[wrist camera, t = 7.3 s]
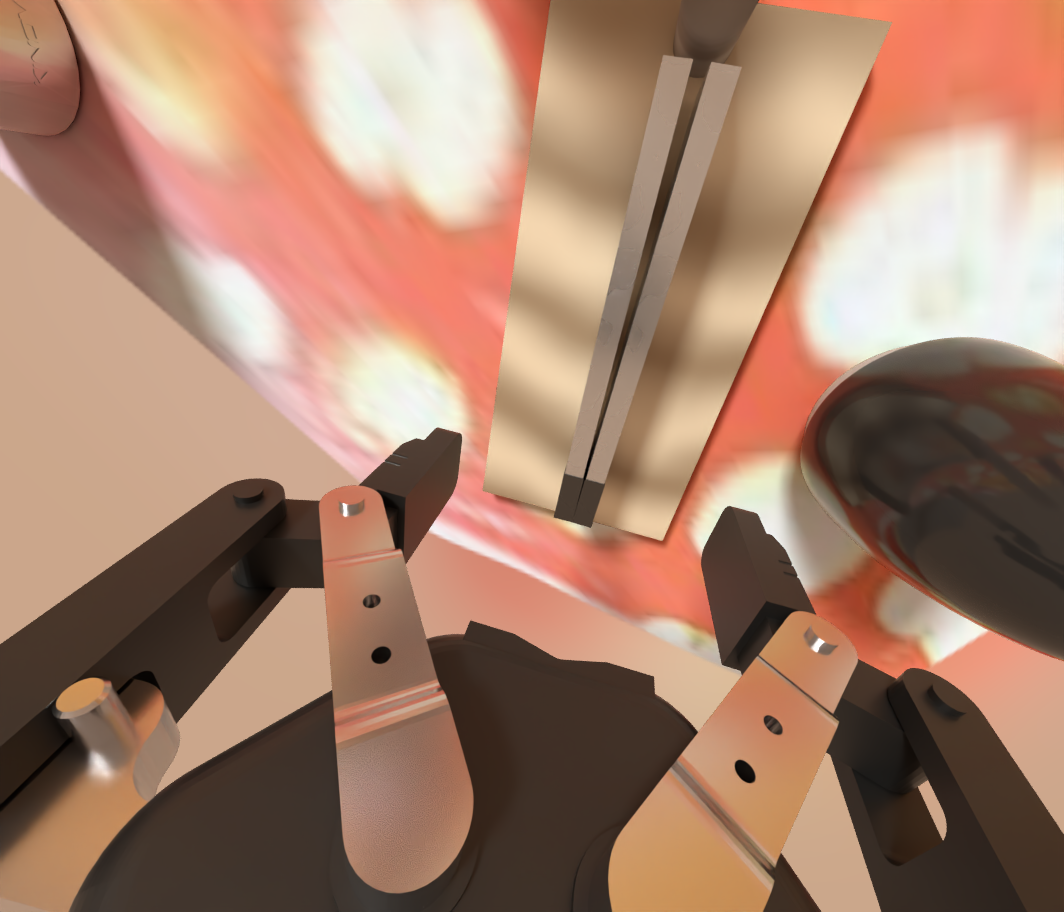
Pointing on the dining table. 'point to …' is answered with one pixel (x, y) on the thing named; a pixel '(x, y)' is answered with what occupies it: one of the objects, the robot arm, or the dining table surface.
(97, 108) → the dining table surface
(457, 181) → the dining table surface
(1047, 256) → the dining table surface
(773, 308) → the dining table surface
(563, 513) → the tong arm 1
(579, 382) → the tong board
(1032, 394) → the pump dispenser
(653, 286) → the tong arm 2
